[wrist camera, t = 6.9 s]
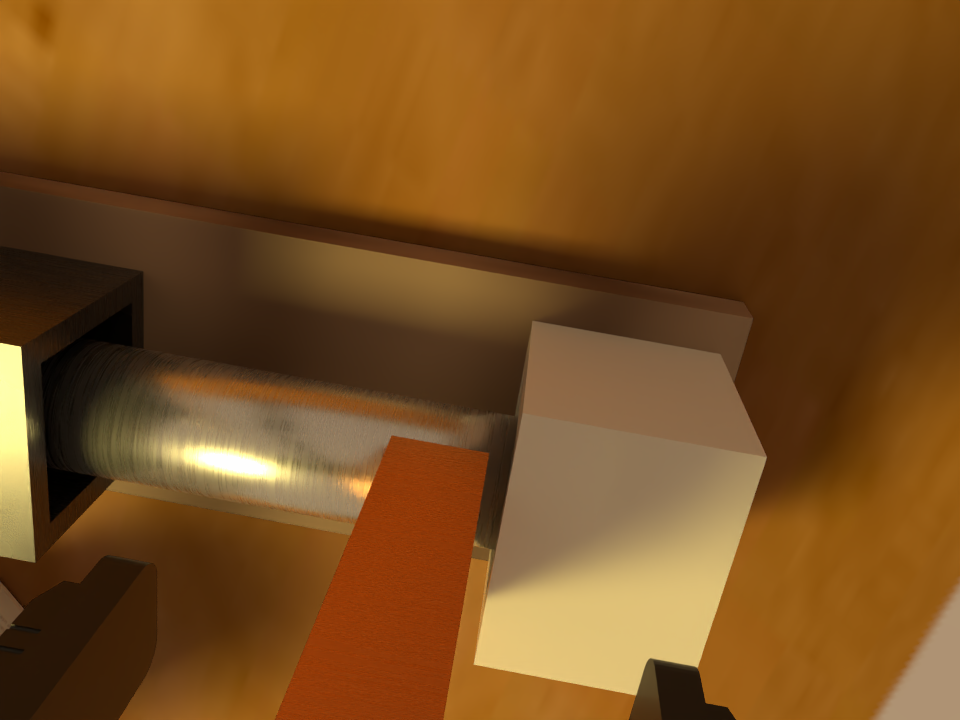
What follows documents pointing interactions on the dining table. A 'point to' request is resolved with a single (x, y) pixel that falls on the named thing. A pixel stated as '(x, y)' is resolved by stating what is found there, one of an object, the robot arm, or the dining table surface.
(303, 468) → the sliding bolt
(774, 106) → the dining table surface
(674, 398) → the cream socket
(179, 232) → the walnut board
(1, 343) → the dark hollow rectangular block
